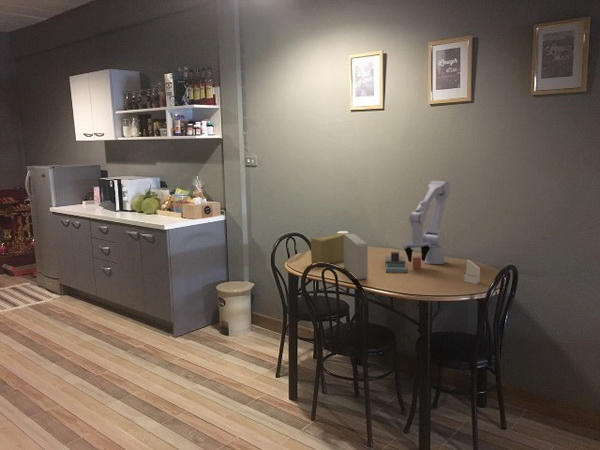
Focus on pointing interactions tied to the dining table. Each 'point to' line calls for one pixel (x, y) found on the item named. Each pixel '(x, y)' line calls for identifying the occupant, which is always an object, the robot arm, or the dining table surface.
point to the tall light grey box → (355, 256)
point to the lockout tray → (396, 268)
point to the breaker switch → (394, 256)
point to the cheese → (327, 249)
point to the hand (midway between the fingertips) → (416, 261)
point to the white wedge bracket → (472, 273)
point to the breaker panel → (388, 261)
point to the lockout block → (416, 262)
